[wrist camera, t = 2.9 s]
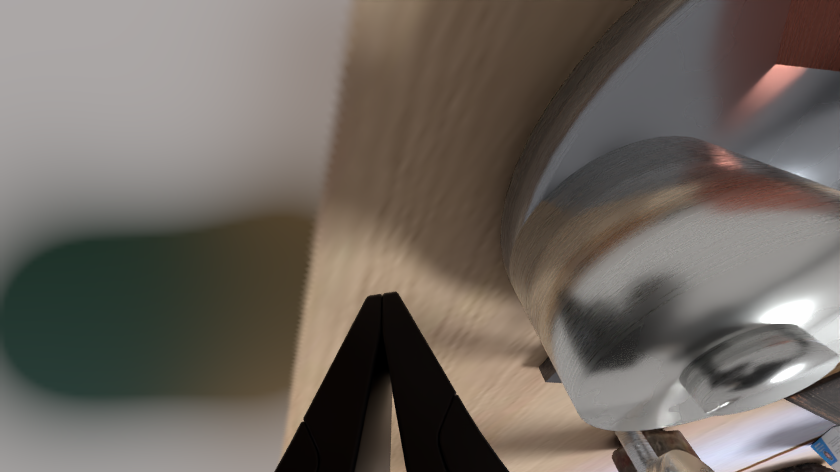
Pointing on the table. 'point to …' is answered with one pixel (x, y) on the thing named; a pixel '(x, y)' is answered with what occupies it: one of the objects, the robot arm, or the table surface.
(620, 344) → the cover
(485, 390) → the table surface
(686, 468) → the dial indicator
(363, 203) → the table surface
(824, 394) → the hardcover book
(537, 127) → the turntable
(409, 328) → the robot arm
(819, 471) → the dark grey flat disc
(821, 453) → the ink box
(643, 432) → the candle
